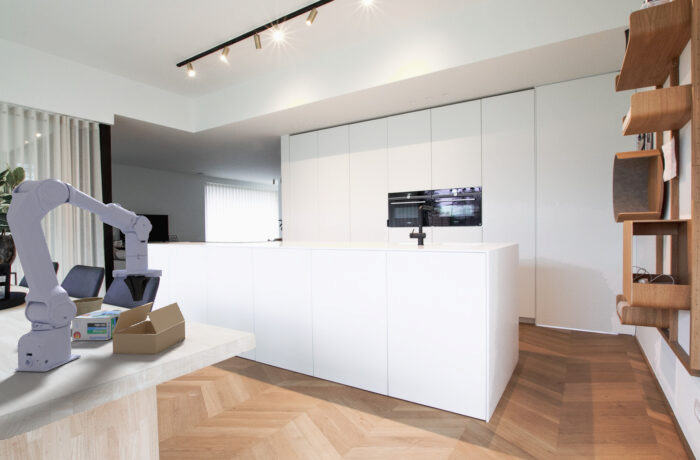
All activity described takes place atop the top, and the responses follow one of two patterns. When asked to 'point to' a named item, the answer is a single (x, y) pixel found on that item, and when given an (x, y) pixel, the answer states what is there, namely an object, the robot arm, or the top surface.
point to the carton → (146, 338)
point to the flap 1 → (132, 317)
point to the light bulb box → (95, 325)
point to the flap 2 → (166, 317)
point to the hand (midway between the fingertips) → (137, 300)
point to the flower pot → (88, 305)
